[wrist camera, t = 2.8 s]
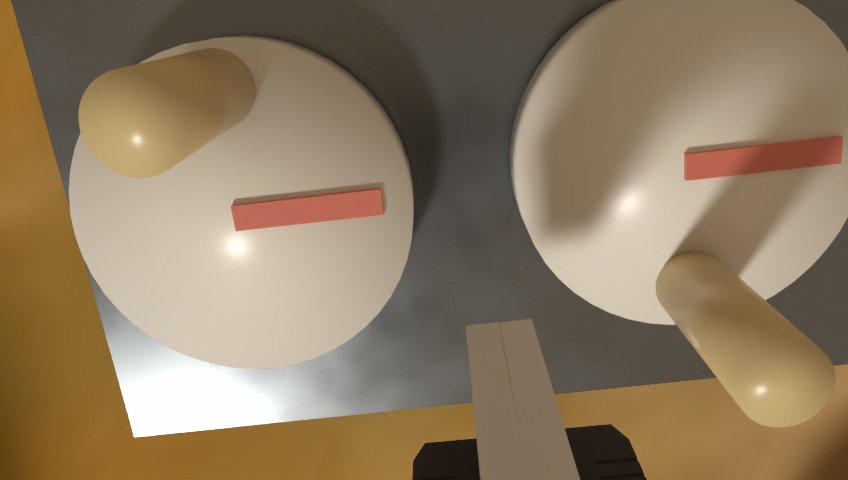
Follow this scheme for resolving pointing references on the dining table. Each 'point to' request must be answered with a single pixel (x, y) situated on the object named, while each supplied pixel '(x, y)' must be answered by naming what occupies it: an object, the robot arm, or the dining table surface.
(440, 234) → the base plate
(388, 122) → the knob
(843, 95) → the knob middle
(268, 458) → the dining table surface
